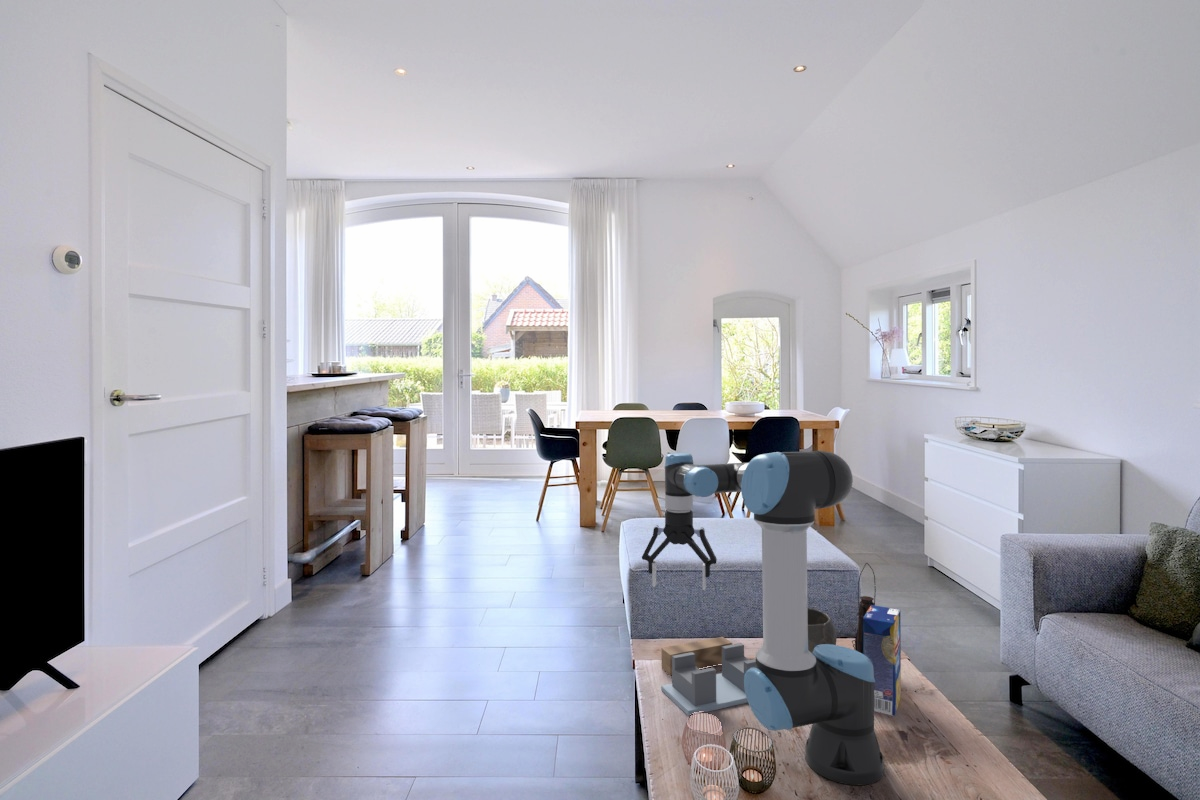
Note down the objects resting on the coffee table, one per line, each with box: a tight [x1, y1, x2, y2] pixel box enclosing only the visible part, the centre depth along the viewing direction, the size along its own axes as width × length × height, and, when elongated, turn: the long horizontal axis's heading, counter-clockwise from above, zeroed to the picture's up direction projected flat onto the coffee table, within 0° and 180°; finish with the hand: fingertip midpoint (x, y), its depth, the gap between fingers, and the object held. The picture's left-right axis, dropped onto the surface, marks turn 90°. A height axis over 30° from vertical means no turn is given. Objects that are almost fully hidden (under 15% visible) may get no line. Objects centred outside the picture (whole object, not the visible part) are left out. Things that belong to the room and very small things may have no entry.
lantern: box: [851, 562, 877, 654], centre depth 171 cm, size 8×8×30 cm
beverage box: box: [863, 604, 902, 717], centre depth 155 cm, size 7×11×22 cm, turn 148°
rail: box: [660, 636, 733, 677], centre depth 177 cm, size 20×5×6 cm, turn 113°
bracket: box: [660, 642, 756, 717], centre depth 161 cm, size 14×26×9 cm, turn 112°
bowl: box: [808, 607, 837, 654], centre depth 181 cm, size 18×18×13 cm
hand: (679, 586), depth 173 cm, fingers open, 13 cm apart
